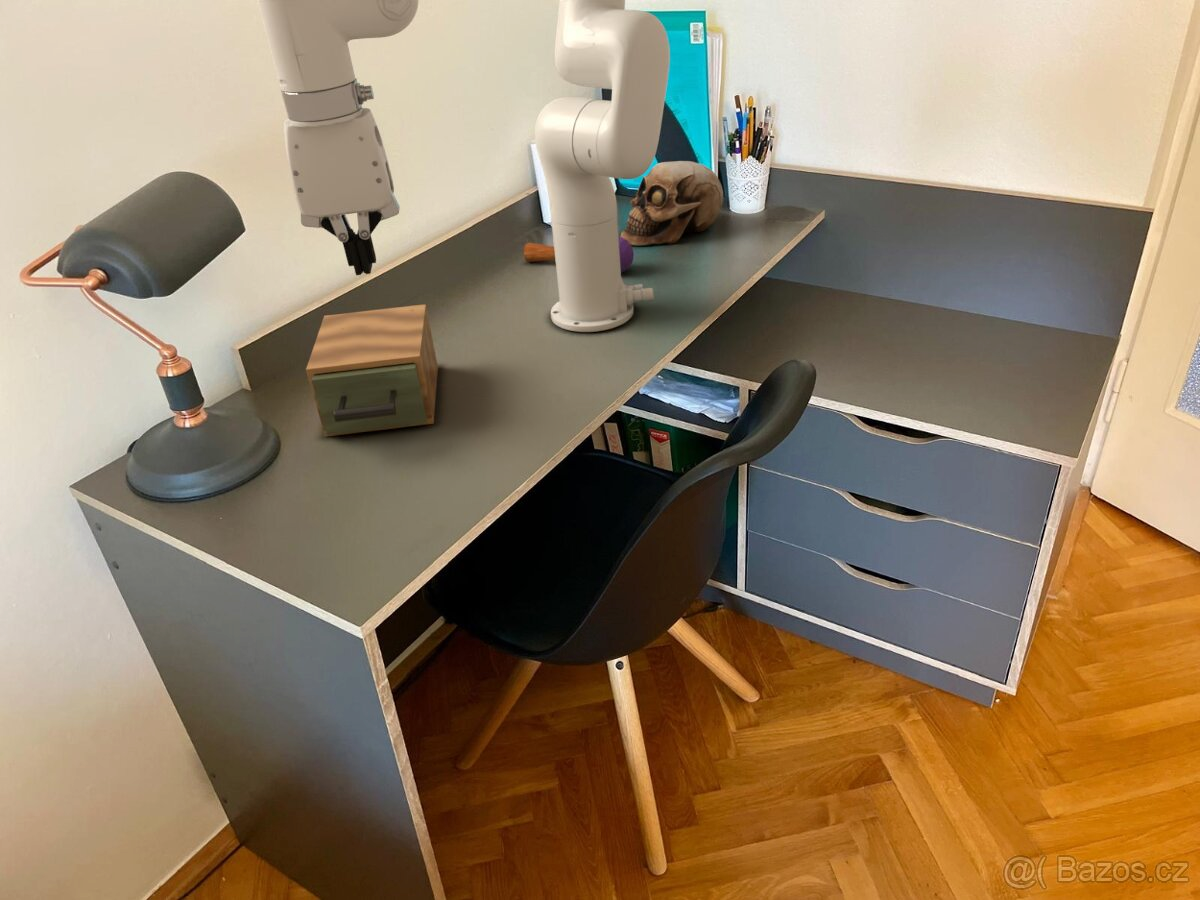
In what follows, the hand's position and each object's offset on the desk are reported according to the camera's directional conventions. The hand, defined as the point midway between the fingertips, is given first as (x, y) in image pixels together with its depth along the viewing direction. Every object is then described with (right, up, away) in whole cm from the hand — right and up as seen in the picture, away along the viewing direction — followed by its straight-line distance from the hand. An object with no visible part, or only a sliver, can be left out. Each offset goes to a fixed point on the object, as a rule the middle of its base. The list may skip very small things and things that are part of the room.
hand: (364, 269), depth 103 cm
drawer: (-1, -15, +13) cm, 20 cm away
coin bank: (+40, +19, +62) cm, 77 cm away
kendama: (+23, +10, +51) cm, 57 cm away
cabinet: (-2, -14, +17) cm, 22 cm away
